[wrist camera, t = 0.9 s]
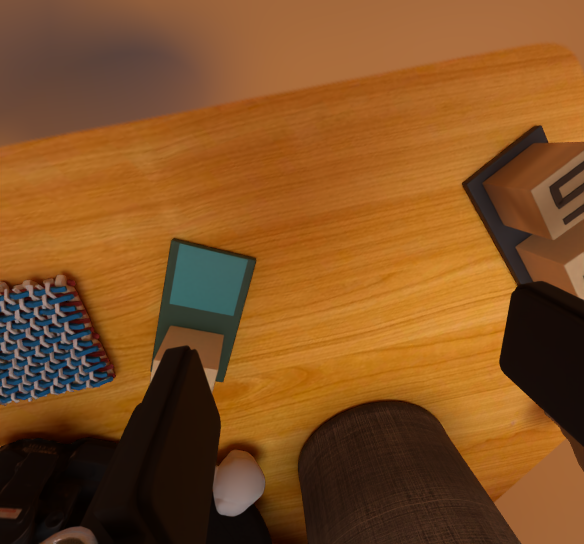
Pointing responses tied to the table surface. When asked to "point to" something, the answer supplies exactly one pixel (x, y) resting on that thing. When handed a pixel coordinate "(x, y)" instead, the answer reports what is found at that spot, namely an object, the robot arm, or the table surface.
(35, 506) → the movie camera
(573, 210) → the letter s block
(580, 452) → the light bulb
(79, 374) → the woven mat
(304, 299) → the table surface
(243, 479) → the white rounded knobbly piece
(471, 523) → the planter
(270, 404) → the table surface
